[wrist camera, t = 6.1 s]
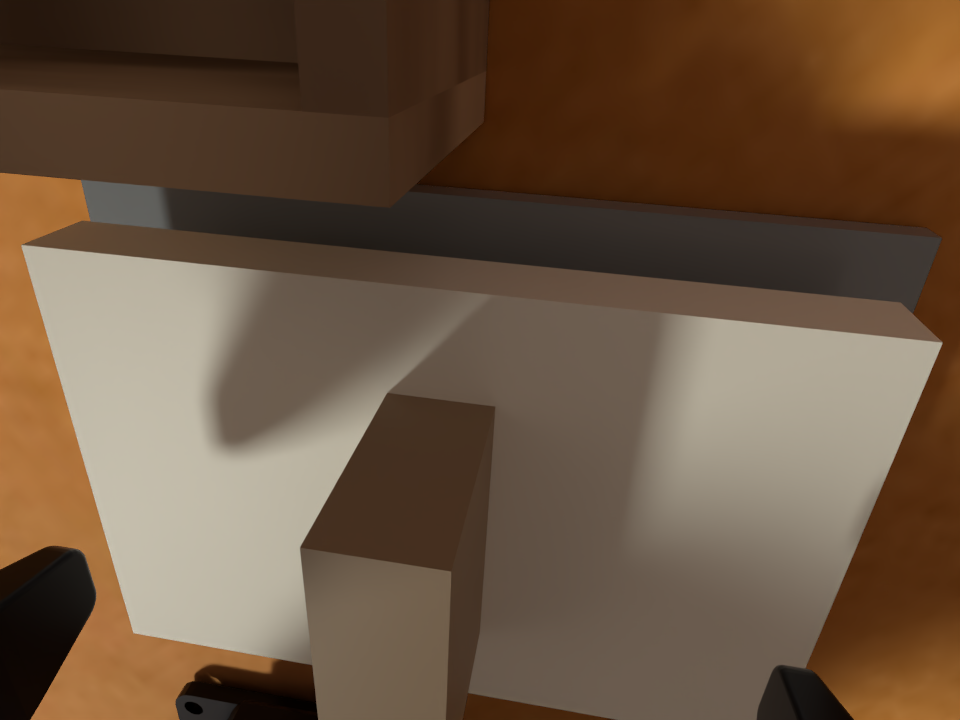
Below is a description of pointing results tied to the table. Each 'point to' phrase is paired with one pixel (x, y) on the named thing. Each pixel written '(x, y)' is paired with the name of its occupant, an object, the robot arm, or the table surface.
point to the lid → (474, 465)
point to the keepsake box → (242, 93)
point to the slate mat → (562, 235)
